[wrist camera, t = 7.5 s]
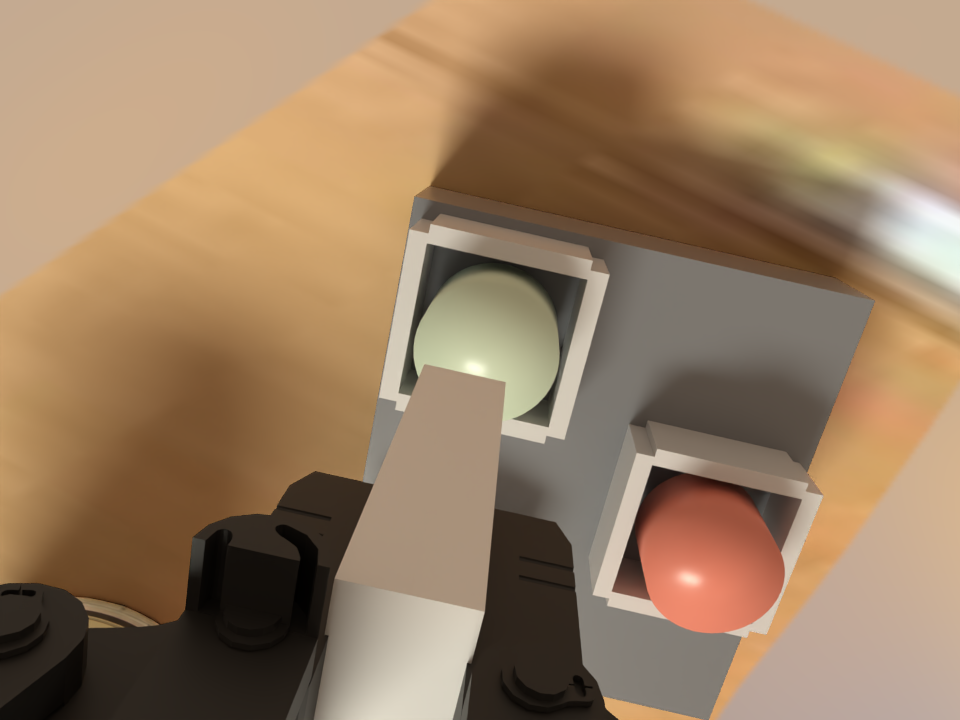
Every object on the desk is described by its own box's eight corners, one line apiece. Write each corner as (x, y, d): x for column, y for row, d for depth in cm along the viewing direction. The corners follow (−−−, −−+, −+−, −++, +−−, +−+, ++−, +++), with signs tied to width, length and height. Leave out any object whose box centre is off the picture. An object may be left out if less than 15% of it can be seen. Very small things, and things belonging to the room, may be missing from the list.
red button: (620, 563, 23) (629, 616, 21) (654, 459, 22) (667, 502, 20) (736, 590, 23) (758, 646, 21) (776, 487, 22) (804, 534, 19)
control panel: (355, 582, 29) (318, 676, 24) (429, 185, 24) (401, 205, 19) (691, 659, 29) (721, 769, 24) (835, 278, 24) (908, 320, 19)
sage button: (417, 372, 22) (401, 404, 19) (441, 249, 20) (428, 268, 18) (540, 400, 22) (540, 436, 19) (572, 279, 20) (575, 301, 18)
